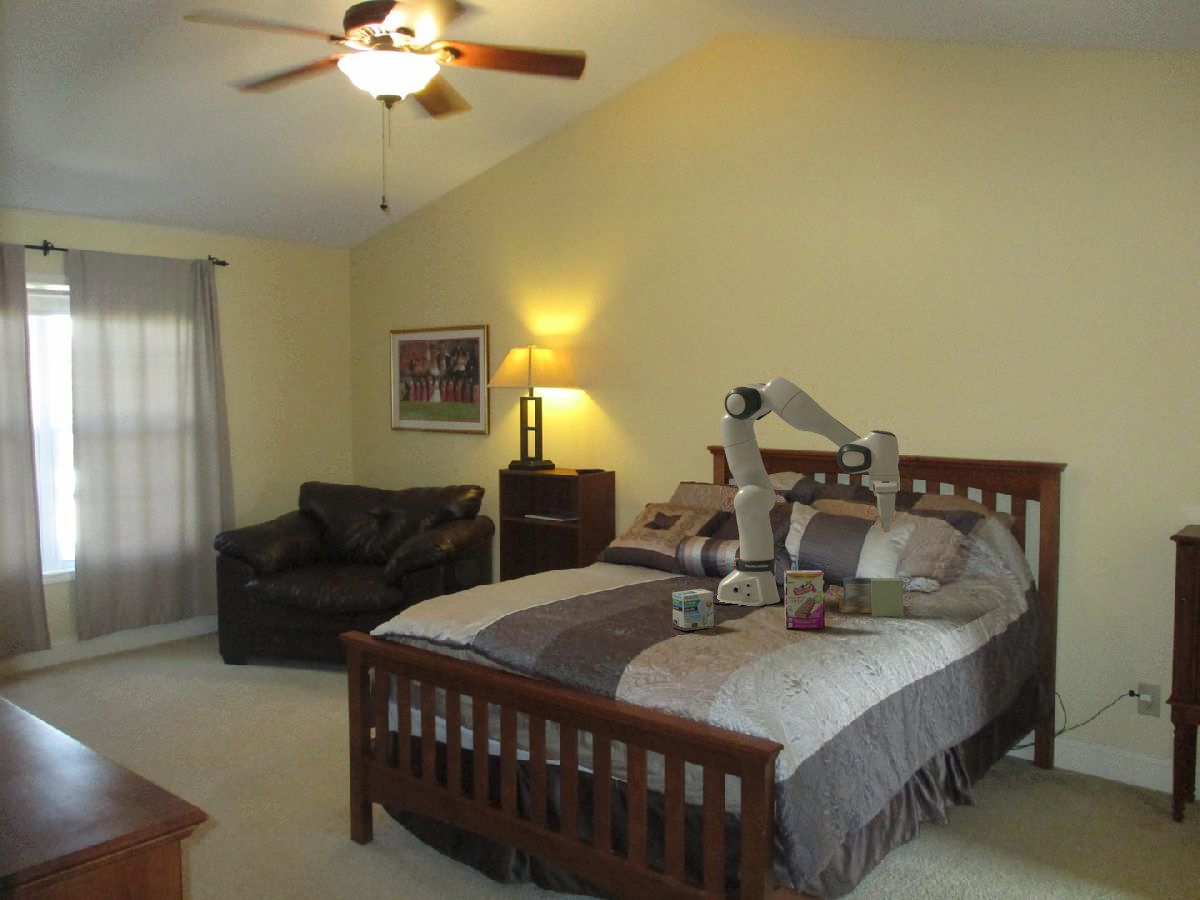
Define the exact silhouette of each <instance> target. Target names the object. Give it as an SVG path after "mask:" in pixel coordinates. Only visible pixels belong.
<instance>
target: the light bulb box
mask: <svg viewBox="0 0 1200 900" xmlns="http://www.w3.org/2000/svg"><path fill="white" fill-rule="evenodd" d="M671 594H672V595H671V596H672V597H671V600H672V601H671V602H672V604H671V605H672V624H673V623H674V624H676V625H678V626H680V627H683V628H691V627H704V626H705V627H706V626H714V627H715V623H714V622H715V620H714V619H715V618H714V614H715V613H714V604H713V596H714V591H710V590H708V589H704V588H695V589H690V590H682V591H675V592H672V593H671Z"/></svg>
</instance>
